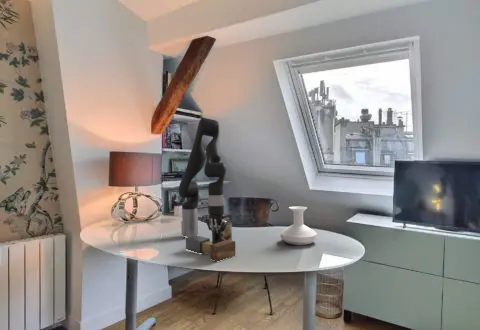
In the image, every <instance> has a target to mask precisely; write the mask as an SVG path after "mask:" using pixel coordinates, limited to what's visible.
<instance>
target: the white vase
mask: <svg viewBox="0 0 480 330" xmlns="http://www.w3.org/2000/svg"><path fill="white" fill-rule="evenodd" d="M288 209H290V210H291V211H292V212H293V224H291V225H289V226H287V227H286V228H284V229H283V230H281V232H280V233H279V235H280V239H281V240H283V242H285V243H287V244H289V245H295V246H304V245H310V244H313V242H315V241H316V240H317V239H318V233H317V232H316V231H315V230H313V229H312V228H310V227H309V226H307V225H305V224H304V212H305V211H306V210H307V209H308V207H307V206H302V205H301V206H298V205H295V206H289V207H288Z"/></svg>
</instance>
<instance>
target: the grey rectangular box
mask: <svg viewBox="0 0 480 330" xmlns="http://www.w3.org/2000/svg"><path fill="white" fill-rule="evenodd" d="M207 240H208V241H211V238H210V237H204V236H200V235H198V236H192V237H188V238H185V250H186V249H188V250H191V251H194V252H197V253H201V242H203V241H207Z"/></svg>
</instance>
